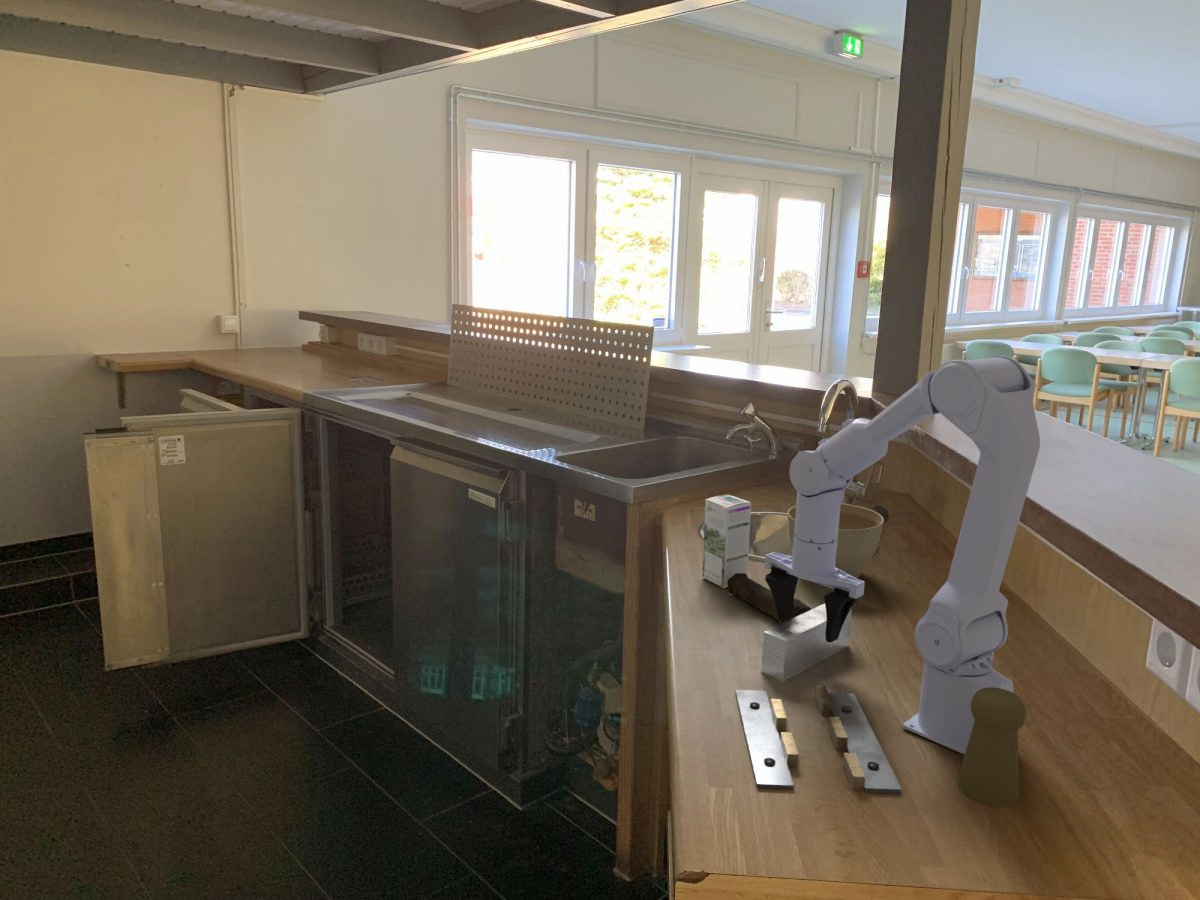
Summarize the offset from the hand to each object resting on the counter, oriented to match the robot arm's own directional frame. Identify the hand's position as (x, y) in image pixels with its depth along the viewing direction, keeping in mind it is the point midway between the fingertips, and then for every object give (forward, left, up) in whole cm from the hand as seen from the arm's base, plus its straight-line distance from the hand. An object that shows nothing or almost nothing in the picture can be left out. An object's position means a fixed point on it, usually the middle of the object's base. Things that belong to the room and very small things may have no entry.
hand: (808, 630), depth 119 cm
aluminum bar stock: (0, 0, -4) cm, 4 cm away
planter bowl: (+16, -31, -4) cm, 35 cm away
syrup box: (+26, -14, -4) cm, 30 cm away
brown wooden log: (+12, -9, -5) cm, 16 cm away
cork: (-30, +11, -4) cm, 32 cm away
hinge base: (-12, +17, -4) cm, 21 cm away
